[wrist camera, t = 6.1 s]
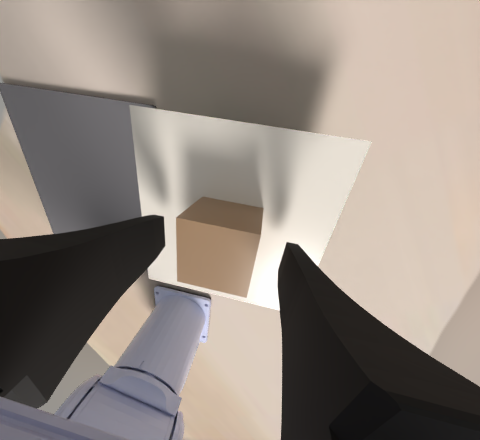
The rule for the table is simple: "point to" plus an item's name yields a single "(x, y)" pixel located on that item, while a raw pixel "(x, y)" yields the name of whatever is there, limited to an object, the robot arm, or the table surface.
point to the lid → (238, 197)
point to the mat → (77, 155)
